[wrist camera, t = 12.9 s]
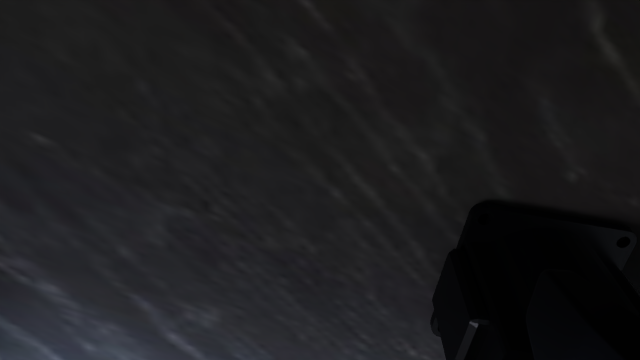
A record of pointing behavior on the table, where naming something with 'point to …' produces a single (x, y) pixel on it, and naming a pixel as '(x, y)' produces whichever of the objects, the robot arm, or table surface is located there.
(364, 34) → the table surface
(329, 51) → the table surface
